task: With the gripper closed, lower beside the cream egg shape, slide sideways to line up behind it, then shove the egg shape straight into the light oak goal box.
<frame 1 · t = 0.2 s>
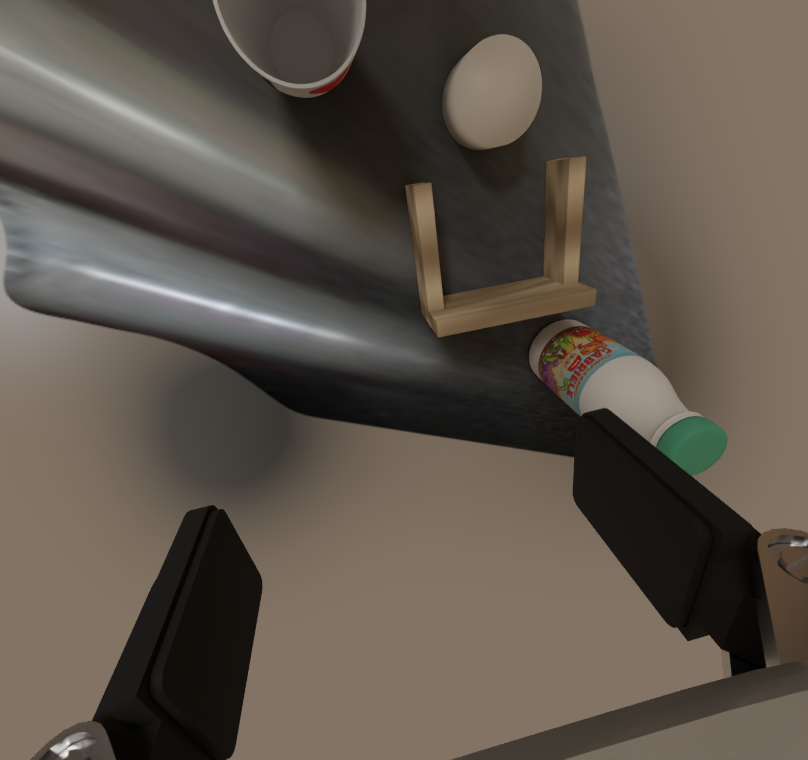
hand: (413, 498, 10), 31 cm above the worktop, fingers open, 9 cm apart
milk bottle: (556, 348, 45), on the worktop
goal: (487, 237, 38), on the worktop
cup: (303, 52, 30), on the worktop
cream egg shape: (481, 103, 33), on the worktop
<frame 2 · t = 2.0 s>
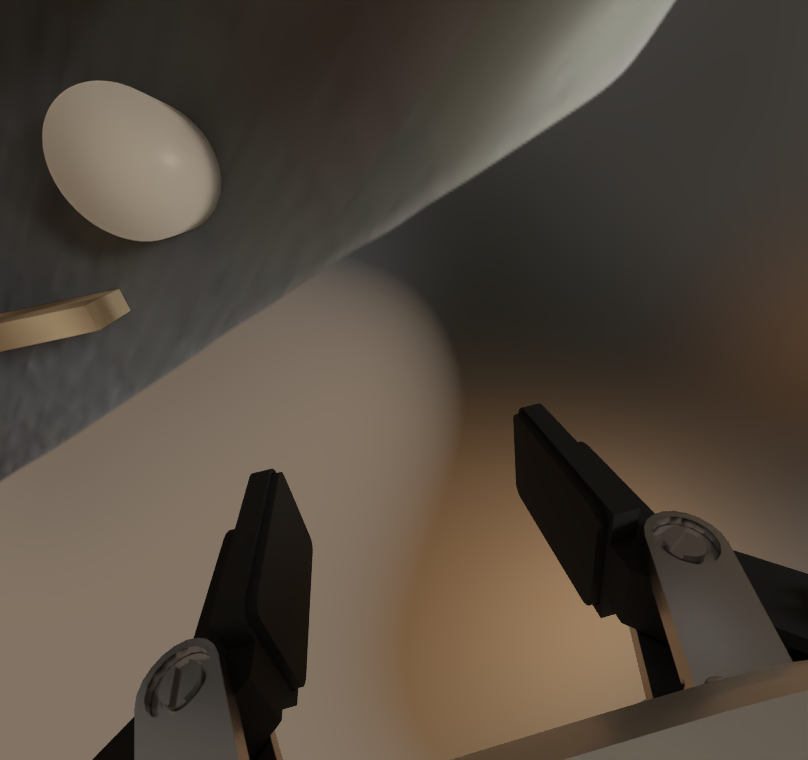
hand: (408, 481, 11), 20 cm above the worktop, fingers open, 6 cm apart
cream egg shape: (158, 170, 23), on the worktop
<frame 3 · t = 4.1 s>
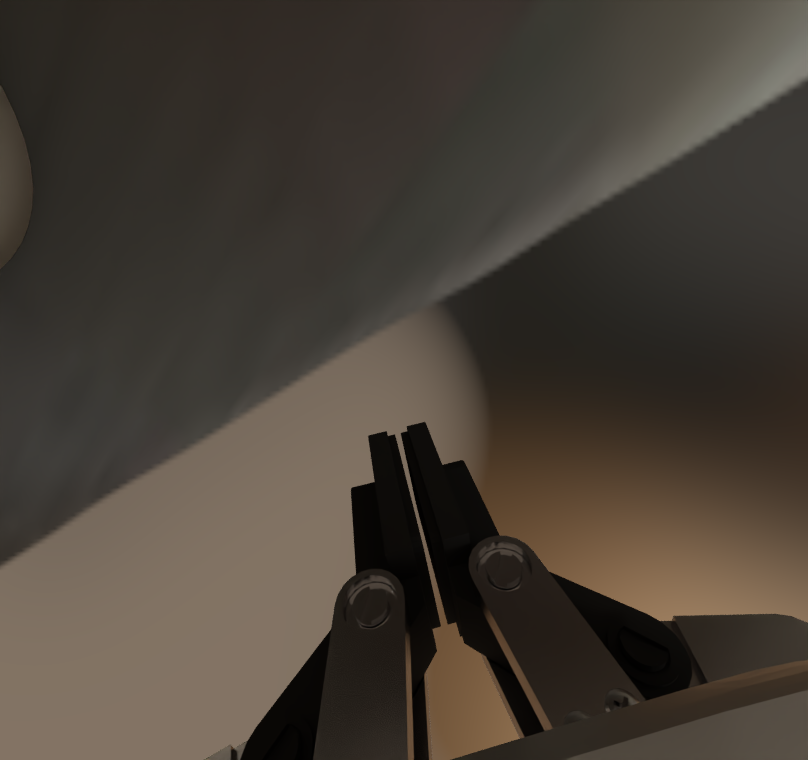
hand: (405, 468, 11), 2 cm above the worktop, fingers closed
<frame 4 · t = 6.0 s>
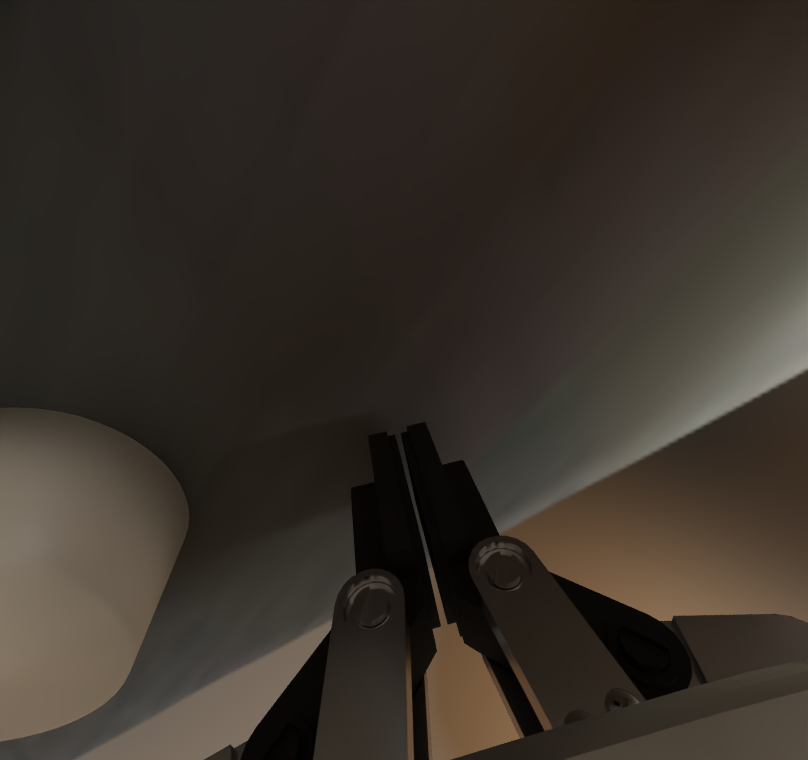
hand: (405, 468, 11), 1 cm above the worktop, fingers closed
cream egg shape: (58, 509, 11), on the worktop
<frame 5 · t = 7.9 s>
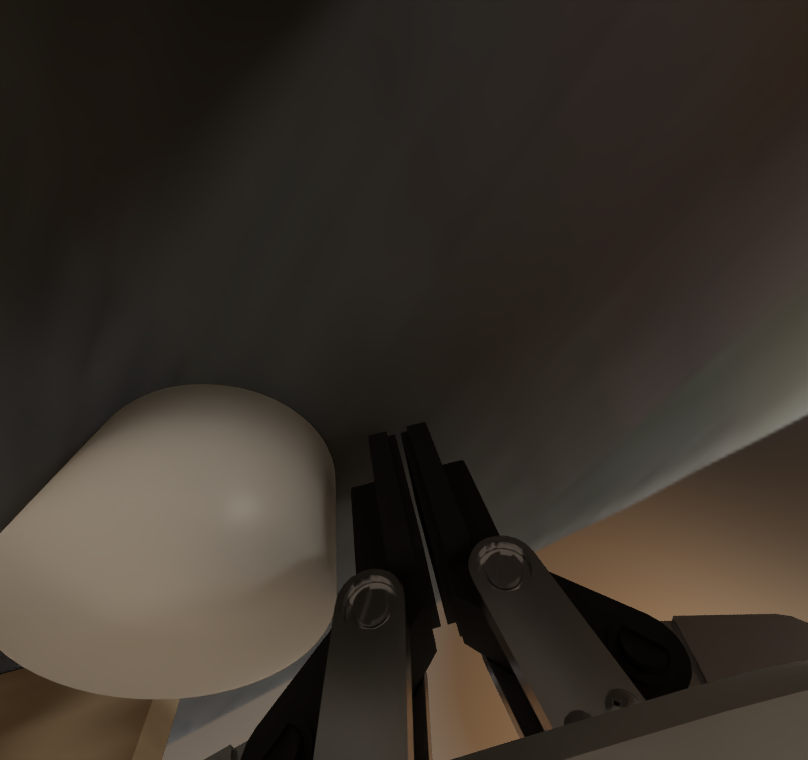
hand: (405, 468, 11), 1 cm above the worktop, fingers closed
cream egg shape: (220, 484, 12), on the worktop, touching gripper
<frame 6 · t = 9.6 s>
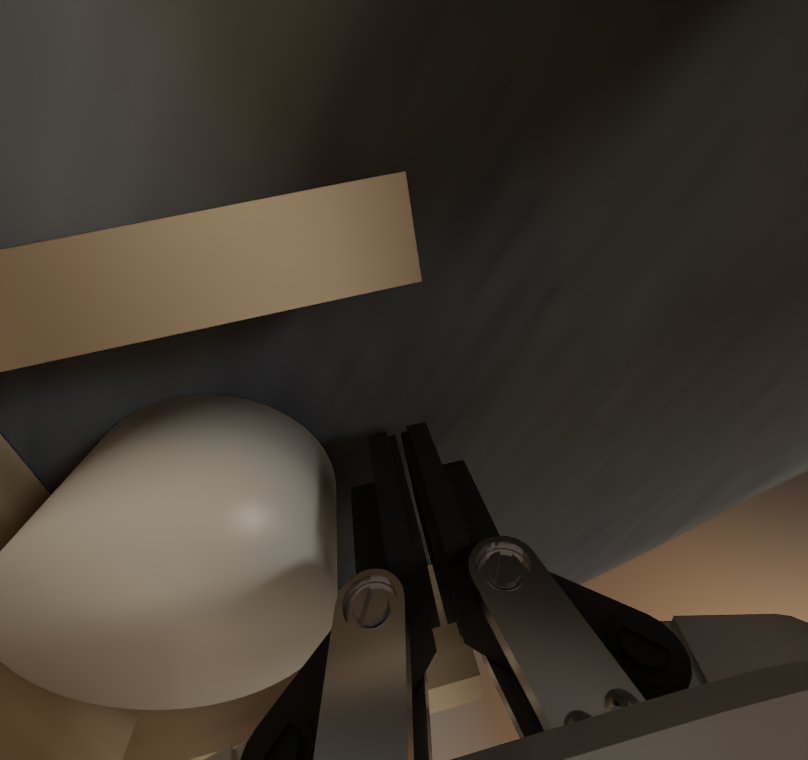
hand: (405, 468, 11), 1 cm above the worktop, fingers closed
goal: (242, 483, 12), on the worktop
cream egg shape: (221, 493, 12), on the worktop, touching gripper
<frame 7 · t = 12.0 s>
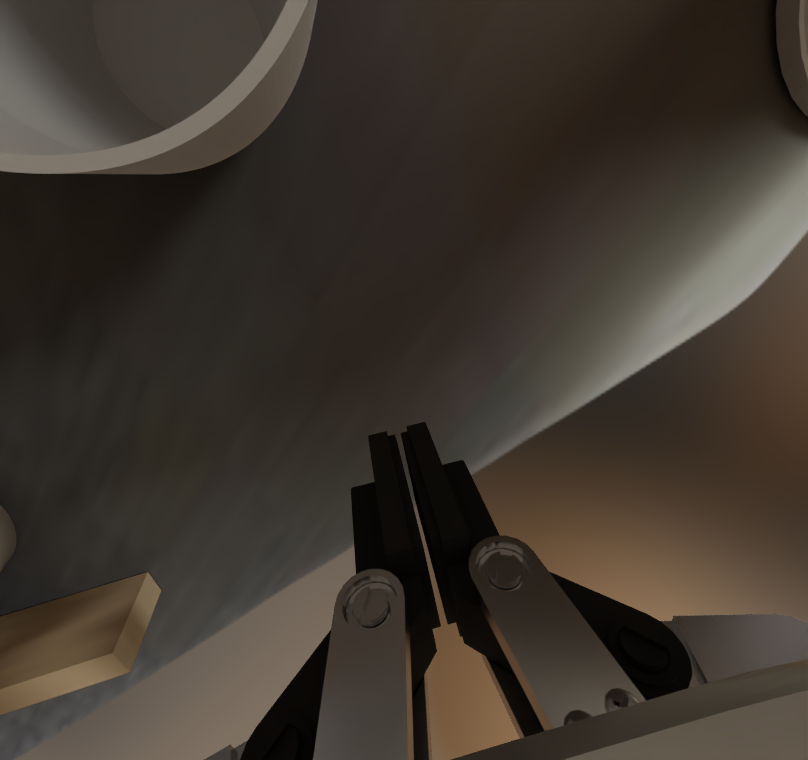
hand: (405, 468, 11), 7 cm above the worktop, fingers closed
cup: (189, 51, 12), on the worktop
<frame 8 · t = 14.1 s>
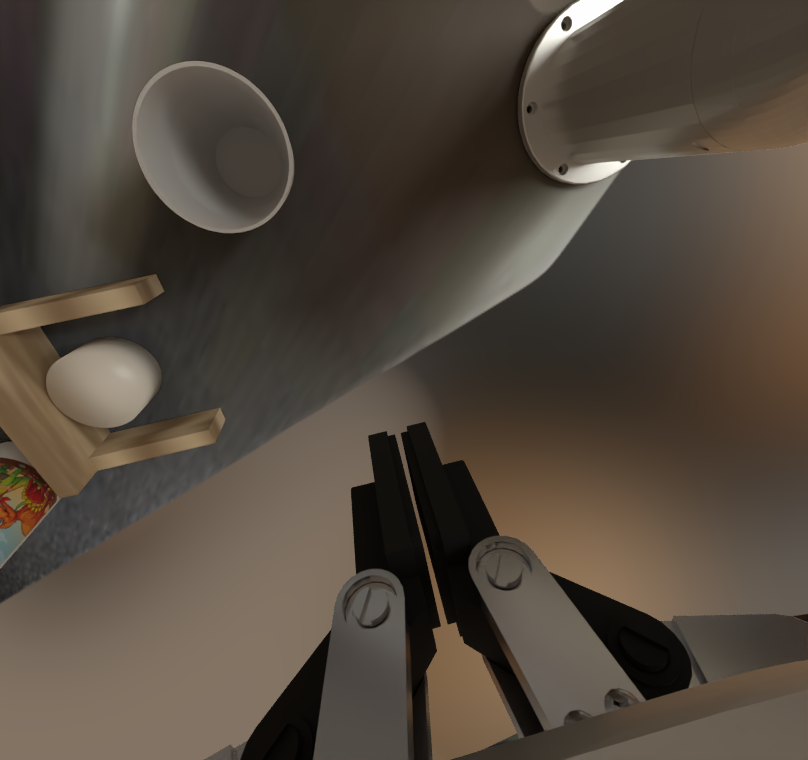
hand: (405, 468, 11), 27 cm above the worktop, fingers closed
milk bottle: (30, 468, 38), on the worktop
goal: (131, 368, 35), on the worktop
cup: (250, 163, 30), on the worktop
cream egg shape: (120, 372, 35), on the worktop
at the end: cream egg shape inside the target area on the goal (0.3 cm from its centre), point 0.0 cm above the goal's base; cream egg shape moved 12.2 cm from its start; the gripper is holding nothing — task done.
